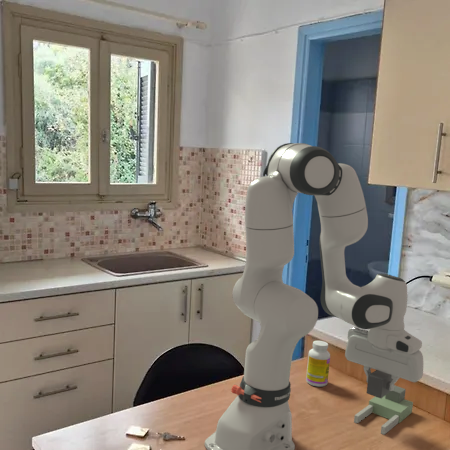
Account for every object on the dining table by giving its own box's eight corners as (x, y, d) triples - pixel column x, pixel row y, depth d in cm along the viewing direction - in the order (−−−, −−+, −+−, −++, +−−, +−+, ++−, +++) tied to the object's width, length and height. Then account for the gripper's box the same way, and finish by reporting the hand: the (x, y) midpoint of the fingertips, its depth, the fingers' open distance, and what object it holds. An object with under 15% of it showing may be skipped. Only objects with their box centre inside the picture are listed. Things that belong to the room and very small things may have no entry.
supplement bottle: (327, 388, 157) (331, 348, 155) (305, 385, 158) (309, 345, 156) (327, 380, 163) (331, 341, 162) (306, 376, 165) (310, 338, 163)
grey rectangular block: (378, 385, 140) (379, 367, 140) (392, 390, 138) (394, 372, 137) (366, 393, 135) (368, 375, 134) (381, 398, 133) (382, 380, 132)
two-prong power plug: (385, 435, 132) (387, 413, 131) (353, 421, 138) (355, 400, 137) (411, 412, 146) (414, 392, 145) (381, 400, 151) (383, 381, 150)
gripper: (343, 327, 139) (338, 376, 140) (419, 349, 125) (413, 403, 127) (354, 323, 143) (349, 370, 145) (428, 343, 130) (422, 395, 132)
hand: (380, 386), depth 136 cm, fingers closed on grey rectangular block, 4 cm apart
